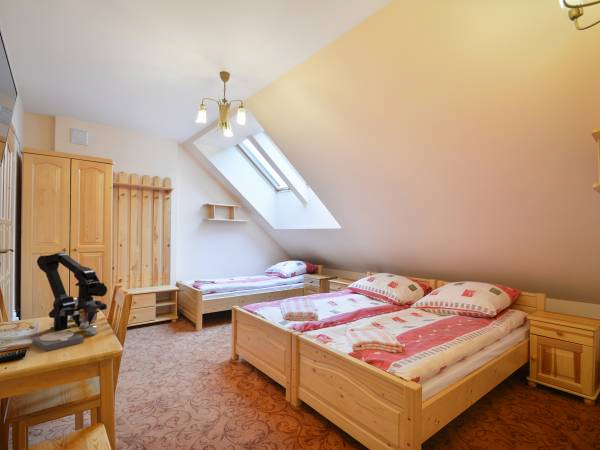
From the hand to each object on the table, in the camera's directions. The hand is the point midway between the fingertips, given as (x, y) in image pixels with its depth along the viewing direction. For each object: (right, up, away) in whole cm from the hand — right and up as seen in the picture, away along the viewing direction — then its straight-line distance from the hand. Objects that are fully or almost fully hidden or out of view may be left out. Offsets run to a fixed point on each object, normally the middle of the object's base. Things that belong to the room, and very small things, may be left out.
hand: (83, 326), depth 155 cm
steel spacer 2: (+7, -2, -5) cm, 9 cm away
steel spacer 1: (0, -1, 0) cm, 1 cm away
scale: (+1, -2, -17) cm, 17 cm away
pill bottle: (-17, -3, +19) cm, 26 cm away
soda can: (-8, -3, +16) cm, 18 cm away
